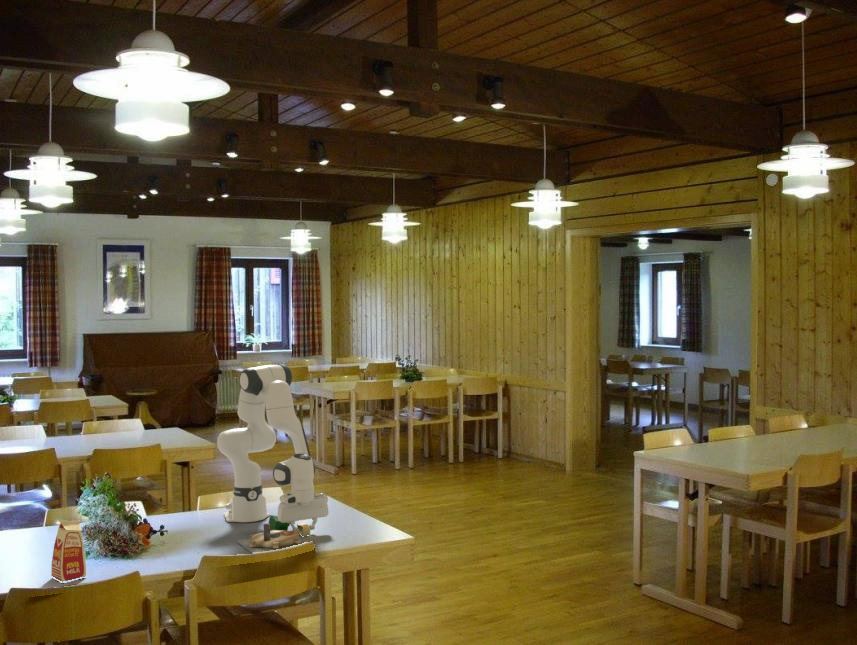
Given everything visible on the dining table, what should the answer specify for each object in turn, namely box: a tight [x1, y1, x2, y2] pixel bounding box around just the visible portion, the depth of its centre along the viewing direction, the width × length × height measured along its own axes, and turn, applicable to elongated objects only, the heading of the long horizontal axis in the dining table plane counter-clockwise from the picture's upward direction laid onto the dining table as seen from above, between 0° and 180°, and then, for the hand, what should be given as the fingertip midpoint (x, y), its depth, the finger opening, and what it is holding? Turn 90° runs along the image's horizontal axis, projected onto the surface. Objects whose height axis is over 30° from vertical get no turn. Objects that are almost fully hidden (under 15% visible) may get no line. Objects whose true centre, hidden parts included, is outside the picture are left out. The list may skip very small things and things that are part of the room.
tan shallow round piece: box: [248, 522, 301, 548], centre depth 321 cm, size 20×19×8 cm
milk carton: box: [50, 519, 87, 582], centre depth 284 cm, size 9×9×20 cm
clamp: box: [268, 514, 291, 531], centre depth 341 cm, size 12×6×9 cm, turn 17°
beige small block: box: [296, 522, 311, 537], centre depth 335 cm, size 6×3×4 cm, turn 30°
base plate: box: [236, 536, 308, 553], centre depth 321 cm, size 22×22×1 cm
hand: (303, 530), depth 335 cm, fingers open, 6 cm apart
